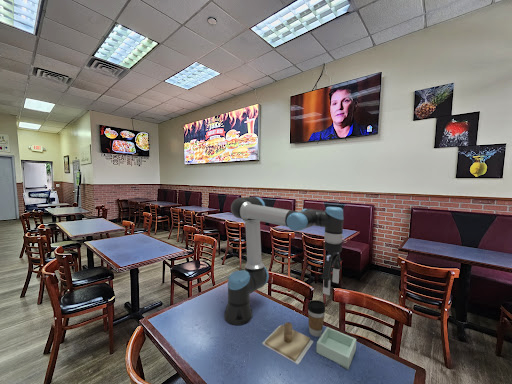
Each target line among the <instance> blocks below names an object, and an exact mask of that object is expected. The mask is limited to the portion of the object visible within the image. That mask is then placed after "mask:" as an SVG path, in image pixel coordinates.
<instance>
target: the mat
mask: <svg viewBox="0 0 512 384" xmlns="http://www.w3.org/2000/svg"><path fill="white" fill-rule="evenodd" d="M281 325H282V324H280V325H278V326H277V327H276V328H275V329H274V330H273V332H271V334H269V336H267V337H266V338H265V340H263V342H261V344H262V345H263V346H265V347H267V348H268V349H270V350H272V351H274V352H276V353H277V354H279V355H281V356H283V357H284V358H286V359H288V360H289V361H290V362H293V363H294V364H296V365H299V363H300V362H301V361H302V360H303V358H304V356H305V355H306V353H307V352H308V351H309V349H310V348H311V346H312V344H314V340H312V339H310V341H309V343H308V344H307V346H306V347H305V348H304V350H303V351H302V353H301V354H300V356H299V357H298V359H297V360H296V361H293V360H291V359H290V358H288V357H286V356H284V355H283V354H281V353H279V352H277V351H276V350H274V349H272V348H270V347H269V346H267V345H265V341H266V340H267V339H268V338H269V337H270V336H271V335H272V334H273V333H274V332H275V331H276V330H277V329H278V328H279V327H280V326H281Z"/></svg>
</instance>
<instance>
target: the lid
mask: <svg viewBox="0 0 512 384" xmlns="http://www.w3.org/2000/svg"><path fill="white" fill-rule="evenodd" d="M280 325H281V326H280ZM280 325H279V326H280V327H279V326H278V327H279V328H278V327H277V328H278V329H277V328H276V329H277V330H276V329H275V330H276V331H275V330H274V331H275V332H274V331H273V332H274V333H273V332H272V333H273V334H272V333H271V334H272V335H271V334H270V335H271V336H270V335H269V336H270V337H269V336H268V337H269V338H268V337H267V338H268V339H267V338H266V339H267V340H266V339H265V340H266V341H265V340H264V341H265V345H267V346H269V347H270V348H272V349H274V350H276V351H277V352H279V353H281V354H283V355H284V356H286V357H288V358H290V359H291V360H293V361H296V360H297V359H298V357H299V356H300V354H301V353H302V351H303V350H304V348H305V347H306V346H307V344H308V343H309V341H310V340H311V337H309V336H307V335H305V334H303V333H301V332H299V331H296V330H294V329H293V324H292V323H291V322H288V321H287V322H284V324H280ZM265 345H264V346H265ZM267 346H266V347H267ZM270 348H269V349H270ZM272 349H271V350H272ZM274 350H273V351H274ZM277 352H276V353H277ZM279 353H278V354H279ZM281 354H280V355H281ZM284 356H283V357H284ZM286 357H285V358H286ZM291 360H290V361H291ZM293 361H292V362H293Z"/></svg>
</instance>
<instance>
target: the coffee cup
mask: <svg viewBox="0 0 512 384" xmlns="http://www.w3.org/2000/svg"><path fill="white" fill-rule="evenodd" d="M306 306H307V317H308V319H307V320H308V332H309V334H310V335H311V336H313V337H317V338H318V337H319V338H320V337H321V335H322V334H323V328H324V322H325V321H324V320H325V312H326V304H325V302H324V301H321V300H318V299H317V300H316V299H314V300H309V301H308V302H307V305H306Z"/></svg>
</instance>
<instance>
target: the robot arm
mask: <svg viewBox="0 0 512 384" xmlns="http://www.w3.org/2000/svg"><path fill="white" fill-rule="evenodd" d="M230 213H231V214H232V216H234V218H236V219H241V220H242V221H243V222H244V223H245V225H244V226H245V240H246V241H245V242H246V243H245V244H246V245H245V246H246V264H245V265H244V269H241V270H235V271H233V272H232V273H230V274H229V276H228V280H227V305H226V307H225V310H224V320H225V321H226V323H228V324H230V325H234V326H243V325H246V324H248V323H249V322H251V321H252V318H253V310H252V308H251V304H250V295H251V294H252V293H254V292H255V291H257V290H258V289H259V290H260V289H262V288H263V287H264V286H265V285H267V283H268V281H269V278H270V275H269V270H268V269H267V267H266V266H265V263H263V262H262V261H263V259H262V242H261V241H262V240H261V222H263V223H269V224H273V225H277V226H281V227H287V228H289V229H290V230H291V231H293V232H297V231H299V232H301V231H303V230H305V229H308V228H311V227H321V228H324V239H323V240H324V243H323V246H324V247H323V249H324V250H325V251H326V252H327V254H325V256H324V263H323V269H322V274H321V280H322V281H323V283H322V284H323V285H322V294H324V295H327V296H331V293H330V292H331V282H332V283H334V284H335V283H336V284H339V281H340V280H339V279H340V270H342V264H341V255H340V254H341V252H342V250H343V239H344V238H345V237H344V235H343V234H344V233H343V229H344V219H345V218H344V209H343V208H342V207H337V206H327V207H325V210H319V209H313V208H303V209H302V210H300V211H298V210H297V211H296V210H290V209H284V208H278V207H272V206H266V203H265V201H264V200H263V199H262V198H261V197H259V196H258V197H257V196H247V197H245V196H244V197H238V198H235V199H234V200H233V201H232V203H231V205H230ZM331 275H332V281H331Z"/></svg>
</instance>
